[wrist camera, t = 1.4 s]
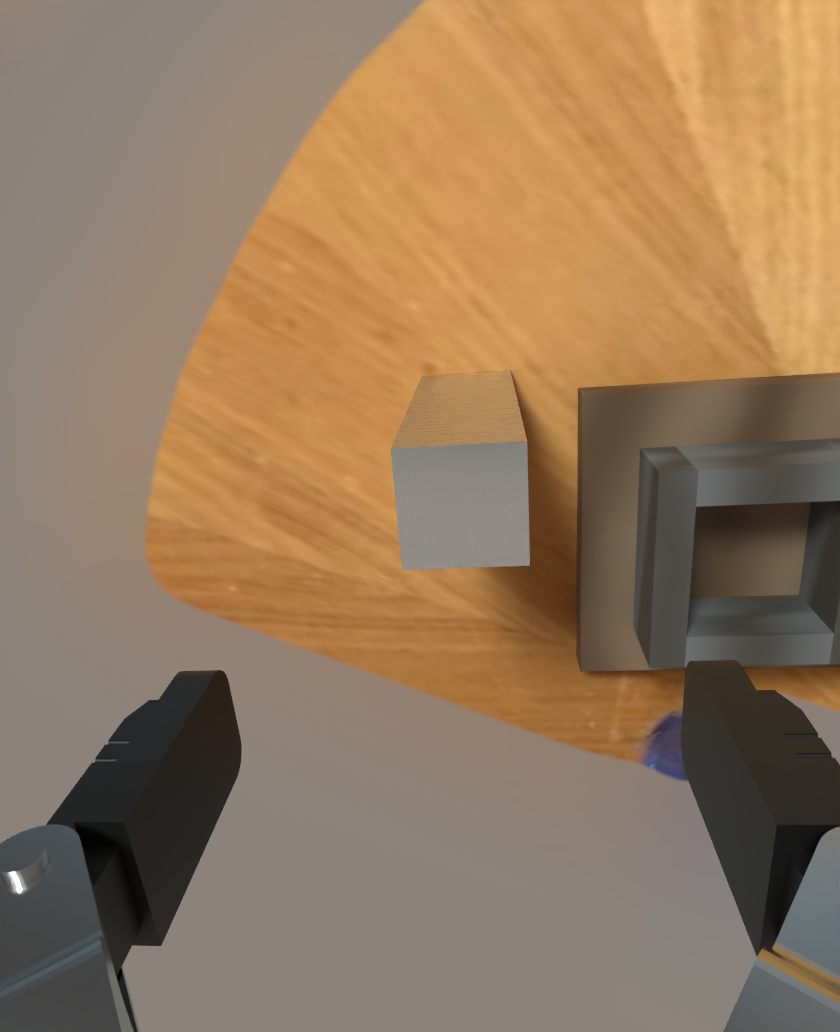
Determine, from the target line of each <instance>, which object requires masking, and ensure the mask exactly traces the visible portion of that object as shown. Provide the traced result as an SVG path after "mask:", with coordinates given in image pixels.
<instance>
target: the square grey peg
mask: <svg viewBox="0 0 840 1032" xmlns="http://www.w3.org/2000/svg"><path fill="white" fill-rule="evenodd" d="M391 454H392V464H393V475H394V486H395V496H396V507H397V517H398V528H399V538H400V549H401V560H402V570H418V569H447V568H475V567H504V566H530V544H529V498H528V452H527V438H526V434H525V430H524V425H523V421H522V417H521V413H520V409H519V404H518V400H517V396H516V392H515V388H514V383H513V379H512V375H511V371H510V370H504V371H488V372H472V373H457V374H441V375H425V376H422V377H421V379H420V381H419V384H418V386H417V388H416V391H415V393H414V395H413V398H412V400H411V403H410V405H409V407H408V410H407V412H406V414H405V417H404V419H403V421H402V424H401V426H400V428H399V431H398V433H397V435H396V438H395V440H394V442H393V445H392V447H391Z"/></svg>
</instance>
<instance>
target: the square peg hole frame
mask: <svg viewBox="0 0 840 1032" xmlns="http://www.w3.org/2000/svg"><path fill="white" fill-rule="evenodd" d="M577 658H578V663H579V667H580V671H633V670H685V669H686V667H687V664H688V662H689V661H715V660H736V661H738V662H739V663H740V665H741V666H742V668H791V667H840V373H826V374H809V375H793V376H776V377H759V378H742V379H726V380H709V381H692V382H675V383H659V384H642V385H625V386H608V387H592V388H578V507H577Z"/></svg>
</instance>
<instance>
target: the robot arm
mask: <svg viewBox="0 0 840 1032" xmlns="http://www.w3.org/2000/svg"><path fill="white" fill-rule="evenodd" d="M681 750H682V758H683V764H684V768H685V772H686V775H687V778H688V781H689V783H690V786H691V788H692V791H693V794H694V796H695V799H696V801H697V804H698V806H699V809H700V812H701V814H702V817H703V819H704V822H705V824H706V827H707V829H708V832H709V835H710V837H711V840H712V842H713V845H714V847H715V850H716V853H717V855H718V858H719V860H720V863H721V865H722V868H723V871H724V873H725V876H726V878H727V881H728V884H729V886H730V889H731V891H732V894H733V896H734V899H735V901H736V904H737V906H738V909H739V912H740V914H741V916H742V920H743V922H744V925H745V927H746V930H747V932H748V935H749V938H750V940H751V943H752V945H753V948H754V950H755V953H756V956H757V958H756V960H755V962H754V964H753V967H752V969H751V971H750V973H749V975H748V978H747V980H746V983H745V984H744V987H743V989H742V991H741V993H740V995H739V998H738V1000H737V1002H736V1004H735V1007H734V1009H733V1011H732V1013H731V1015H730V1018H729V1020H728V1022H727V1024H726V1026H725V1029H724V1031H723V1032H840V765H839V763H838V762H837V761H836V759H835V758H832V756H831V752H830V750H829V749H828V747H827V746H826V745H825V743H824V742H823V740H822V739H821V738H818V733H817V732H816V730H815V729H814V727H813V726H812V724H811V723H810V721H809V720H808V719H807V717H806V716H805V714H804V713H803V711H802V710H801V709H800V708H798V707H797V706H796V705H794V704H793V703H791V702H790V701H789V700H787V699H786V698H785V697H783V696H782V695H780V694H779V693H778V692H776V691H775V690H756V689H755V687H754V686H753V684H752V682H751V681H750V679H749V677H748V676H747V674H746V673H745V671H744V669H743V668H742V666H741V665H740V663H739V662H738V661H736V660H715V661H689V662H688V664H687V667H686V672H685V685H684V700H683V714H682V728H681ZM240 763H241V740H240V735H239V730H238V725H237V720H236V715H235V711H234V706H233V701H232V696H231V691H230V687H229V682H228V679H227V676H226V674H225V673H224V672H223V671H221V670H217V671H216V670H215V671H181V672H179V673H178V674H177V675H176V676H175V677H174V678H173V680H172V681H171V683H170V684H169V686H168V687H167V689H166V690H165V691H164V693H163V694H162V696H161V697H160V699H159V700H149V701H148V702H146V703H145V704H144V705H142V706H141V707H140V708H138V709H137V710H136V711H134V712H133V713H132V714H130V715H129V716H128V717H127V718H125V719H124V721H123V722H122V723H121V724H120V726H119V727H118V728H117V730H116V731H115V732H114V734H113V735H112V736H111V738H110V739H109V743H108V745H105V746H104V747H103V749H102V750H101V751H100V753H99V754H98V755H97V757H96V761H95V763H92V764H91V765H90V766H89V767H88V769H87V770H86V772H85V773H84V775H83V776H82V777H81V778H80V780H79V781H78V782H77V784H76V785H75V786H74V788H73V789H72V790H71V792H70V793H69V795H68V796H67V797H66V798H65V800H64V801H63V803H62V804H61V805H60V807H59V808H58V809H57V811H56V812H55V813H54V815H53V816H52V817H51V819H50V820H49V821H48V823H47V824H46V825H44V826H38V827H34V828H31V829H28V830H25V831H22V832H20V833H18V834H16V835H14V836H12V837H10V838H8V839H6V840H5V841H3V842H2V843H0V1032H140V1031H139V1027H138V1023H137V1019H136V1015H135V1011H134V1007H133V1003H132V999H131V995H130V991H129V988H128V984H127V980H126V976H125V973H124V970H123V967H122V965H123V962H124V961H125V959H126V957H127V954H128V952H129V950H130V948H131V946H132V945H143V946H145V945H146V946H161V945H162V943H163V940H164V938H165V936H166V934H167V932H168V929H169V927H170V925H171V923H172V920H173V918H174V916H175V914H176V911H177V909H178V907H179V905H180V903H181V900H182V898H183V896H184V894H185V892H186V889H187V887H188V885H189V883H190V880H191V878H192V876H193V874H194V872H195V869H196V867H197V865H198V863H199V861H200V858H201V856H202V854H203V852H204V849H205V847H206V845H207V843H208V841H209V838H210V836H211V834H212V832H213V830H214V827H215V825H216V823H217V820H218V818H219V816H220V814H221V812H222V810H223V807H224V805H225V803H226V801H227V798H228V796H229V794H230V792H231V790H232V787H233V785H234V783H235V781H236V778H237V776H238V772H239V769H240Z"/></svg>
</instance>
